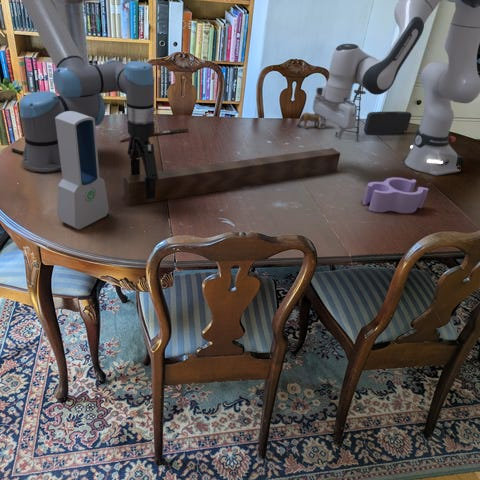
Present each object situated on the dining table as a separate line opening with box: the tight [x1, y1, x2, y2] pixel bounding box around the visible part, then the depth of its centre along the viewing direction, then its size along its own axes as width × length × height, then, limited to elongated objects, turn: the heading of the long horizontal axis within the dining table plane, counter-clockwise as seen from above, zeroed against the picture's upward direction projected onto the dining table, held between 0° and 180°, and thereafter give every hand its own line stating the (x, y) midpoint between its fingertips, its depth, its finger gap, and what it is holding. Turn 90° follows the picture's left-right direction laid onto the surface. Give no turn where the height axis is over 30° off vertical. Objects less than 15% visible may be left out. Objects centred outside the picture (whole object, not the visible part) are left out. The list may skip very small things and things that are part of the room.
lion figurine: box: [296, 112, 326, 130], centre depth 215 cm, size 15×5×9 cm, turn 110°
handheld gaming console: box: [363, 110, 413, 135], centre depth 217 cm, size 23×3×10 cm, turn 108°
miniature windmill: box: [342, 84, 367, 142], centre depth 203 cm, size 9×8×30 cm
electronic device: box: [55, 111, 110, 231], centre depth 124 cm, size 12×8×30 cm, turn 148°
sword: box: [120, 128, 189, 142], centre depth 190 cm, size 31×3×1 cm, turn 126°
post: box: [123, 147, 341, 206], centre depth 159 cm, size 80×5×8 cm, turn 119°
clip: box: [362, 177, 429, 214], centre depth 156 cm, size 20×12×7 cm, turn 109°
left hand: (142, 188), depth 143 cm, fingers open, 13 cm apart
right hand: (329, 132), depth 169 cm, fingers open, 8 cm apart
